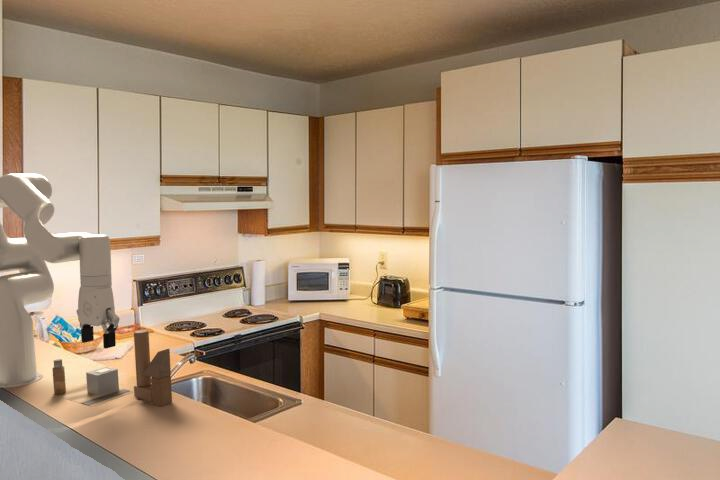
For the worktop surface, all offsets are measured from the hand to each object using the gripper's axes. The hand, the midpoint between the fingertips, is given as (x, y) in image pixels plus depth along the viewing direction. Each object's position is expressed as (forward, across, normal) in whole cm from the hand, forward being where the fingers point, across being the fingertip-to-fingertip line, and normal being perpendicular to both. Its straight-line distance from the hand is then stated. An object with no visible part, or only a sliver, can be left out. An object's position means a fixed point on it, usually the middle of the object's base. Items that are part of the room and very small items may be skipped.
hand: (98, 344), depth 155 cm
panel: (+14, 0, -2) cm, 14 cm away
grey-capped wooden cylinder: (+13, -8, -7) cm, 17 cm away
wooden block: (+13, +17, +4) cm, 22 cm away
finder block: (+13, +1, 0) cm, 13 cm away
